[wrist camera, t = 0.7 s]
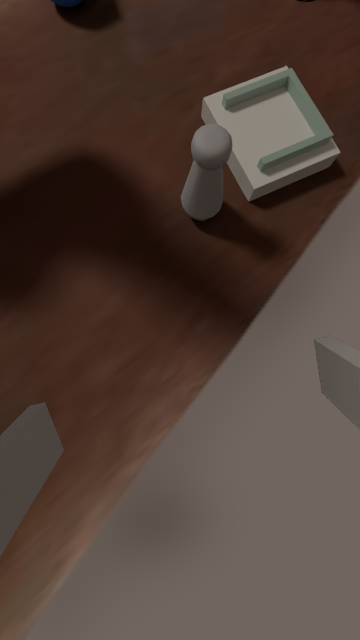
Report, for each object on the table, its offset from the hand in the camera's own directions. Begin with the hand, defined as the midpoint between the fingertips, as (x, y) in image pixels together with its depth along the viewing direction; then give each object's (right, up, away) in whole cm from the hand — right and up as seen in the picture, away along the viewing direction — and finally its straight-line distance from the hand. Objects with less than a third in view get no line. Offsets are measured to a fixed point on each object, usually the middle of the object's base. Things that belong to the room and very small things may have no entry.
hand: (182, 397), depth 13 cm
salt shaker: (+3, +20, +28) cm, 35 cm away
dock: (+13, +31, +30) cm, 45 cm away
